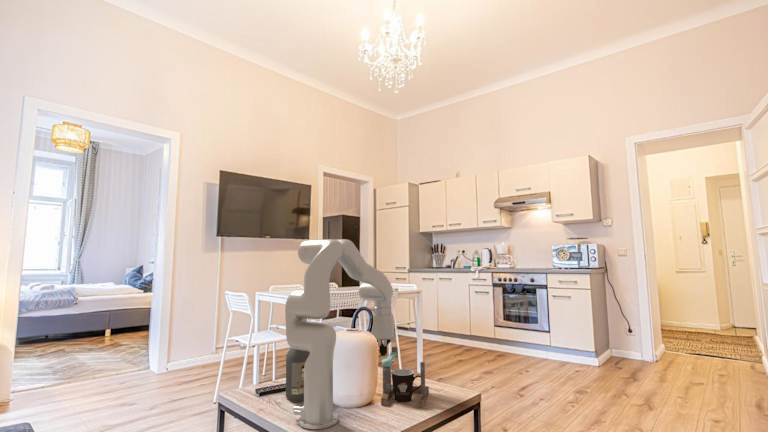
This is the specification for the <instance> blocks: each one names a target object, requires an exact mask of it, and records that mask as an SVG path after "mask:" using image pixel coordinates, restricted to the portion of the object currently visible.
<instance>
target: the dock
mask: <svg viewBox="0 0 768 432" xmlns="http://www.w3.org/2000/svg"><path fill="white" fill-rule="evenodd" d="M425 363H426V362H425V361H421V362H420V364H419V365H420V370H419V371H420V376H421V377H420V385H421V387H420V388H419V389H417V390H416V391H414V392H413V393H412V394H419V395H420V400H419V409H425V406H426V402H427V399H428V398H429V397H428V396H429V392H430V391H429V387H430V386H426V364H425ZM391 372H392V365H391V366H390V367H383V366H382V396H381V398H380V405H381V406H382V407H383V406H384V407H387V406H388V404H389V403H390V401H391V399H392V398H393V397H394V390H393V384H392V375H391ZM420 385H413V389H412V390H414V389H416V388H417V387H419V386H420Z"/></svg>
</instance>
